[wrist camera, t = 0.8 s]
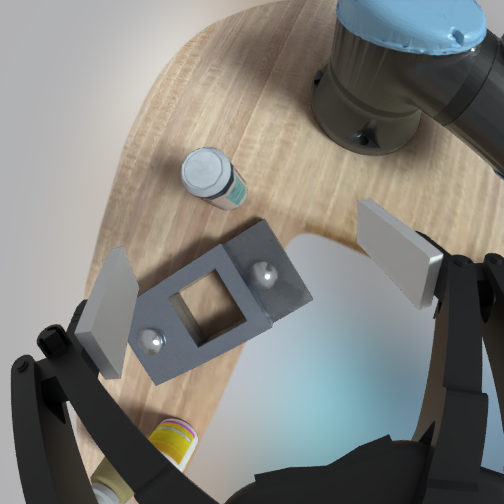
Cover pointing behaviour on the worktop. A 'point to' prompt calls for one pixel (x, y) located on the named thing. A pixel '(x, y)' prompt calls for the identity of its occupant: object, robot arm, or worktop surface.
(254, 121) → the worktop surface
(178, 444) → the supplement bottle
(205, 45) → the worktop surface
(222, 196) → the beer can
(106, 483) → the squeeze bottle
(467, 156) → the worktop surface
